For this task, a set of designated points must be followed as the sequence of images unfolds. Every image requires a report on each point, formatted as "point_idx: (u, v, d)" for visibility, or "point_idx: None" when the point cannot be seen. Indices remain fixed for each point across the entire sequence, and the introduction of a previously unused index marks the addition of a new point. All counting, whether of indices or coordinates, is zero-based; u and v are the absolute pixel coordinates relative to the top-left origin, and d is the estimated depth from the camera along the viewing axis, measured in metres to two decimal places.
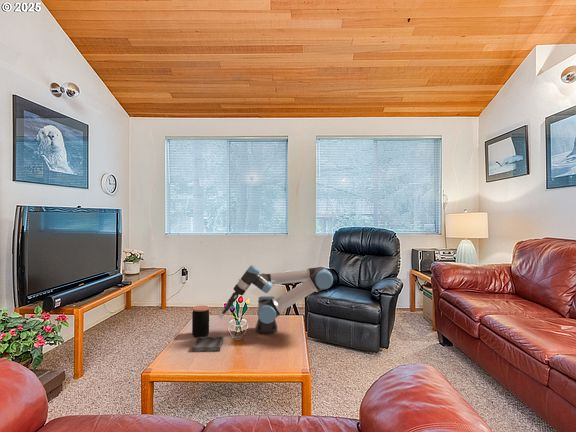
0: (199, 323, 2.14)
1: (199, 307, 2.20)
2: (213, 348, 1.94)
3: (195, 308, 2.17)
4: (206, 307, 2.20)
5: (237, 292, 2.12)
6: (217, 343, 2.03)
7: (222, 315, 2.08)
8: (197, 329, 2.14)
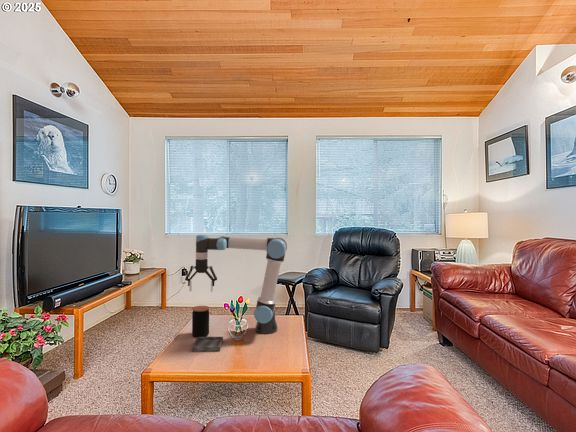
0: (199, 323, 2.14)
1: (199, 307, 2.20)
2: (213, 348, 1.94)
3: (195, 308, 2.17)
4: (206, 307, 2.20)
5: None
6: (217, 343, 2.03)
7: None
8: (197, 329, 2.14)
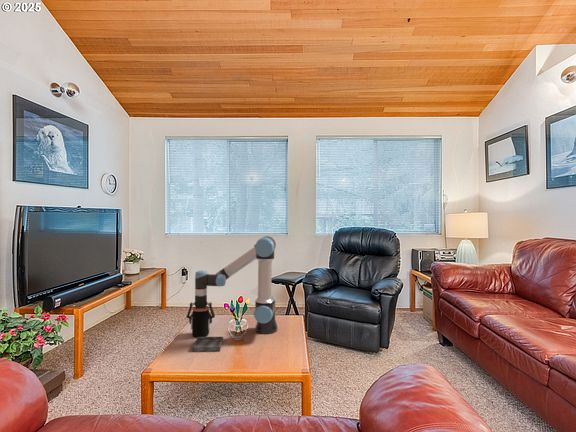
0: (199, 323, 2.14)
1: None
2: (213, 348, 1.94)
3: None
4: (206, 307, 2.20)
5: None
6: (217, 343, 2.03)
7: None
8: (197, 329, 2.14)
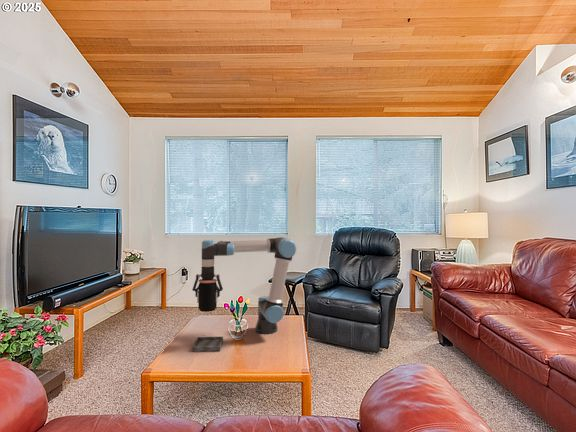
0: (206, 296, 1.98)
1: None
2: (213, 348, 1.94)
3: (202, 280, 2.02)
4: None
5: None
6: (217, 343, 2.03)
7: None
8: (203, 302, 1.99)
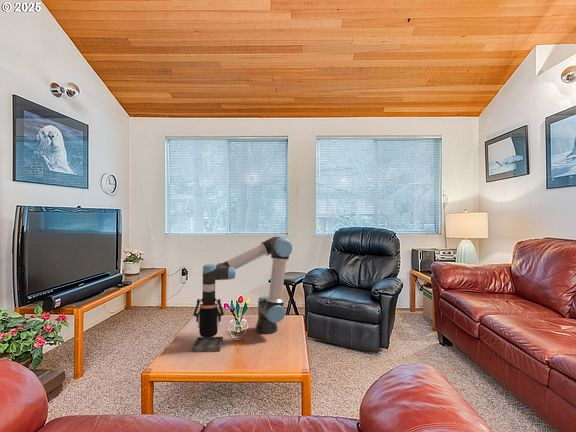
0: (207, 322, 1.96)
1: None
2: (213, 348, 1.94)
3: (203, 305, 2.00)
4: (214, 304, 2.02)
5: None
6: (217, 343, 2.03)
7: (198, 324, 2.01)
8: (205, 328, 1.96)
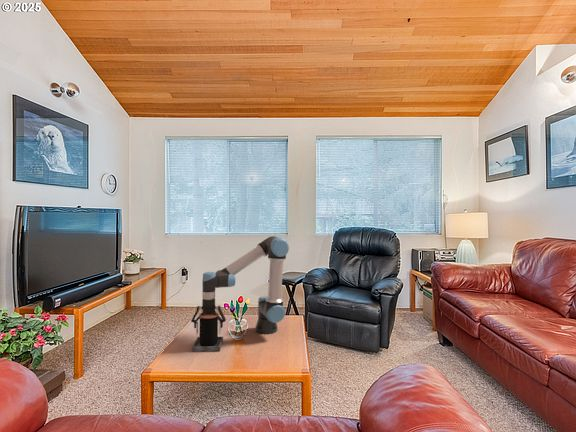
0: (207, 332, 1.97)
1: None
2: (213, 348, 1.94)
3: (203, 315, 2.00)
4: None
5: None
6: (217, 343, 2.03)
7: (196, 330, 2.01)
8: (205, 338, 1.97)
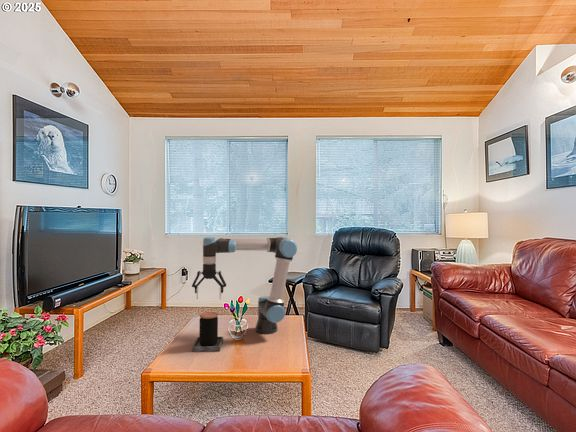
0: (207, 332, 1.97)
1: (207, 313, 2.03)
2: (213, 348, 1.94)
3: (203, 315, 2.00)
4: (214, 313, 2.02)
5: None
6: (217, 343, 2.03)
7: None
8: (205, 338, 1.97)
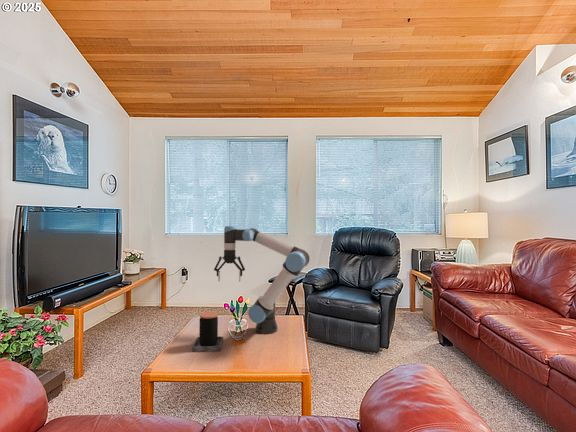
0: (207, 332, 1.97)
1: (207, 313, 2.03)
2: (213, 348, 1.94)
3: (203, 315, 2.00)
4: (214, 313, 2.02)
5: None
6: (217, 343, 2.03)
7: (218, 278, 2.22)
8: (205, 338, 1.97)
